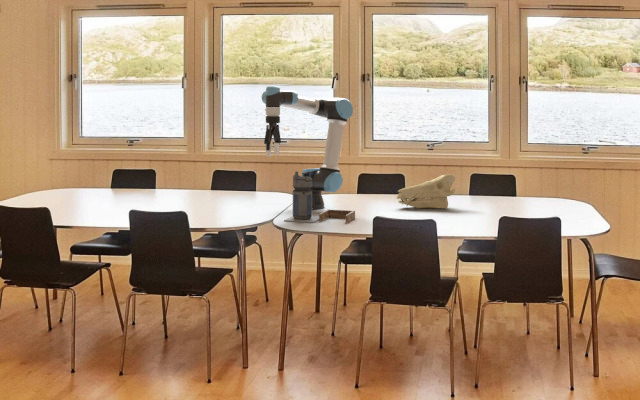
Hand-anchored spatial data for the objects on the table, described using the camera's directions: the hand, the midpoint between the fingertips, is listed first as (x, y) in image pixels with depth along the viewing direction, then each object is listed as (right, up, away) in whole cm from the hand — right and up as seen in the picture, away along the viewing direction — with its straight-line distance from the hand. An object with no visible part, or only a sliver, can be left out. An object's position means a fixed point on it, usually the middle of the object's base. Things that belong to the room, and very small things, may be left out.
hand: (272, 155), depth 400 cm
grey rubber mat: (+17, -34, -6) cm, 38 cm away
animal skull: (+88, -29, +46) cm, 103 cm away
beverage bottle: (+16, -33, -5) cm, 38 cm away
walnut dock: (+34, -34, -5) cm, 49 cm away
